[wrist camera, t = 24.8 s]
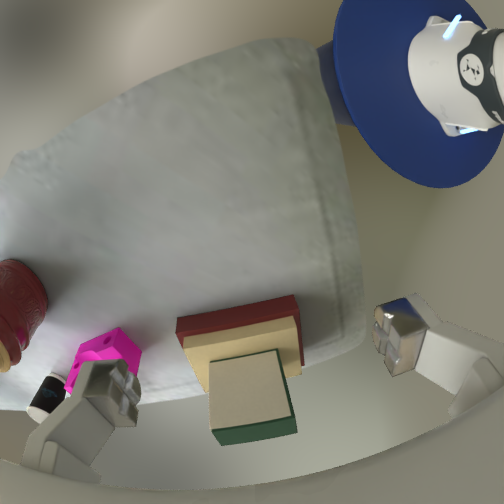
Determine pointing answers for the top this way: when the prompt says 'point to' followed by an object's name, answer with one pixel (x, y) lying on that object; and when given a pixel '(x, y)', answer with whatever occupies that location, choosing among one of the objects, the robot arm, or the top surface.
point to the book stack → (243, 335)
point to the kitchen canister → (18, 310)
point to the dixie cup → (47, 398)
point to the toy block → (105, 353)
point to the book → (249, 398)
